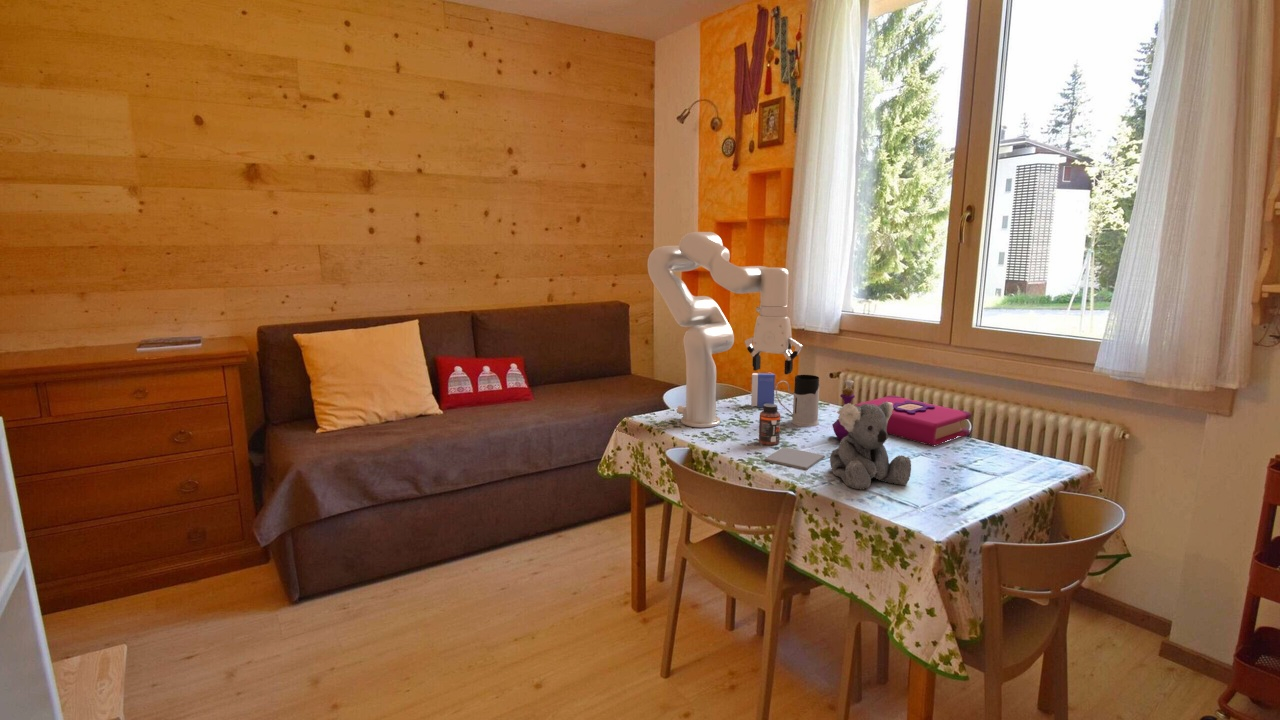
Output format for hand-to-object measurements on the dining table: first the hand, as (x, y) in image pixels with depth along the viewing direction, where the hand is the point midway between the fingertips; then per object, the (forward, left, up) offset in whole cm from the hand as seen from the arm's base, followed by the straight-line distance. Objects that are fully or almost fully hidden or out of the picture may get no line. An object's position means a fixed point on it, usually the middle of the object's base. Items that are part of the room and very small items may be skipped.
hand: (772, 371), depth 190 cm
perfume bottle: (+17, +16, -21) cm, 32 cm away
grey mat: (+12, -9, -21) cm, 26 cm away
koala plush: (+31, -11, -22) cm, 39 cm away
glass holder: (-2, +24, -21) cm, 32 cm away
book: (+29, +38, -22) cm, 53 cm away
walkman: (-20, +36, -21) cm, 47 cm away
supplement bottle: (0, 0, -21) cm, 21 cm away
